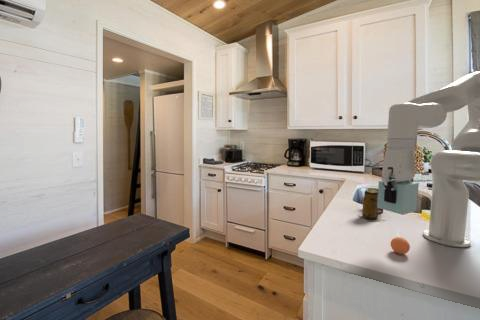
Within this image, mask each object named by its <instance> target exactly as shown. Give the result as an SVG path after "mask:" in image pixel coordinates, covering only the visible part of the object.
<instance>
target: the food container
mask: <svg viewBox="0 0 480 320" xmlns="http://www.w3.org/2000/svg"><path fill="white" fill-rule="evenodd" d="M367 190H371V191H376V192H378V188H368V189H367ZM383 213H384V210H383V209H380V208H378V215H381V214H382V215H383Z"/></svg>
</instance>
